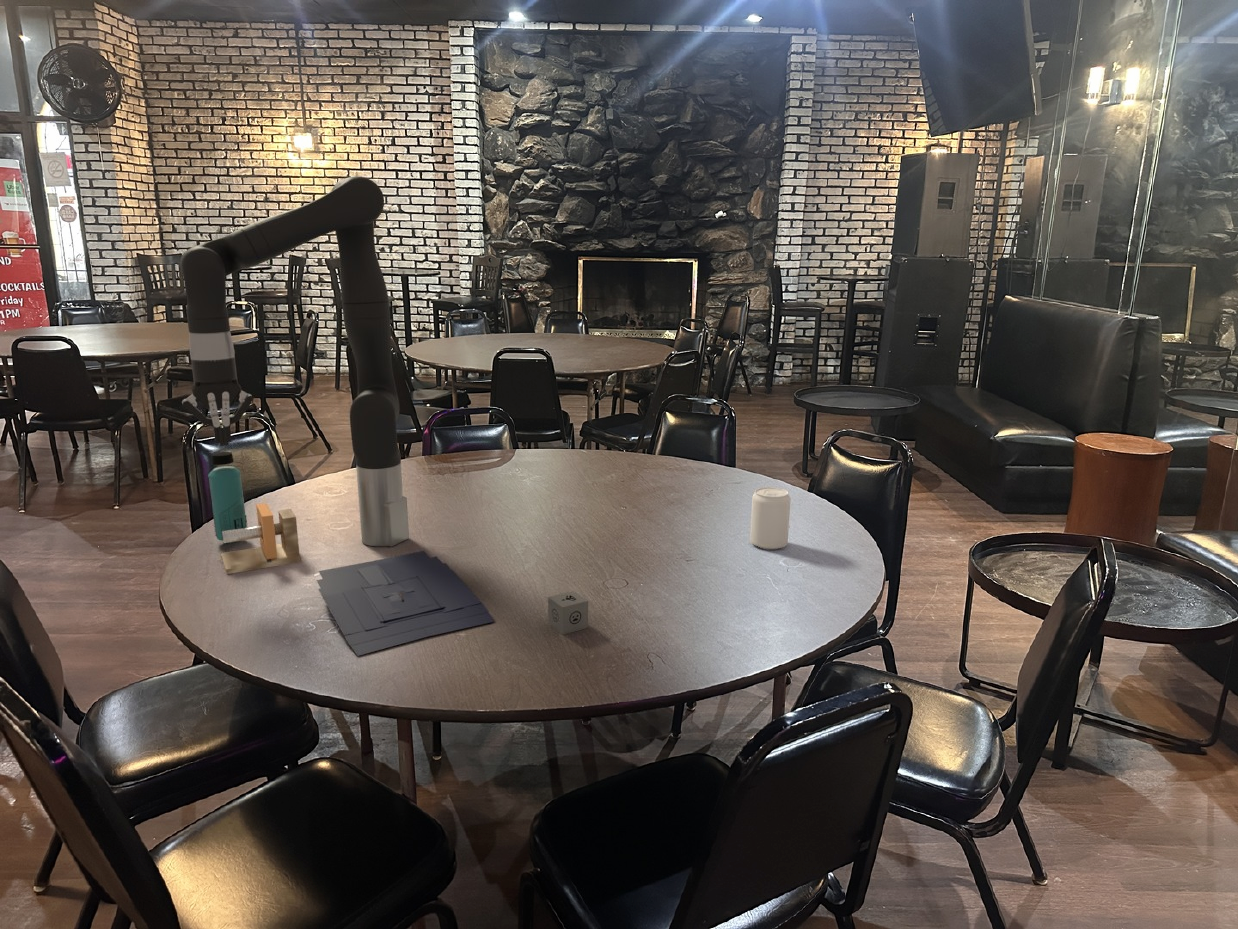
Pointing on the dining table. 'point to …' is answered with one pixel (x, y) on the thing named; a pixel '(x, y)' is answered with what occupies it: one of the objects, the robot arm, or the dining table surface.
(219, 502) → the beverage bottle
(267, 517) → the collar
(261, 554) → the pipe stand
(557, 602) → the dice cube
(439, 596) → the dark blue flat slab
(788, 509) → the beverage can
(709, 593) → the dining table surface
